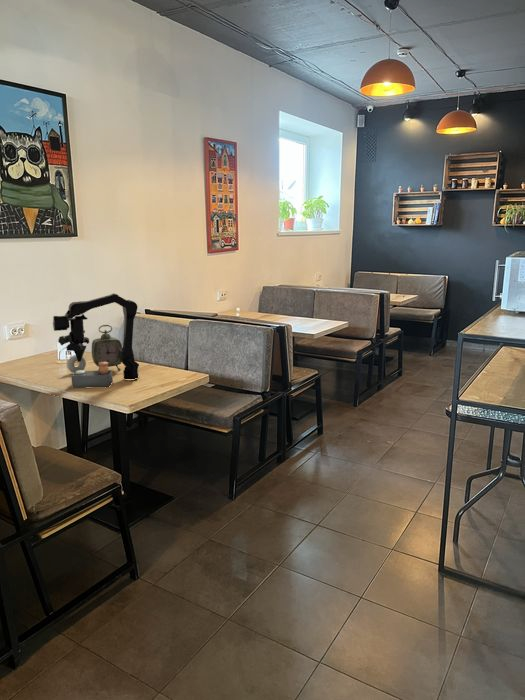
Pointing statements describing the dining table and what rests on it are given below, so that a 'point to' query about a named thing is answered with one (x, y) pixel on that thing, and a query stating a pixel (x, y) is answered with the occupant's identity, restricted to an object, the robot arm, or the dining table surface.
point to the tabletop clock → (106, 349)
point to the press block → (92, 379)
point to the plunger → (80, 372)
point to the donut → (73, 360)
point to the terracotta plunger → (103, 367)
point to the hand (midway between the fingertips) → (79, 361)
